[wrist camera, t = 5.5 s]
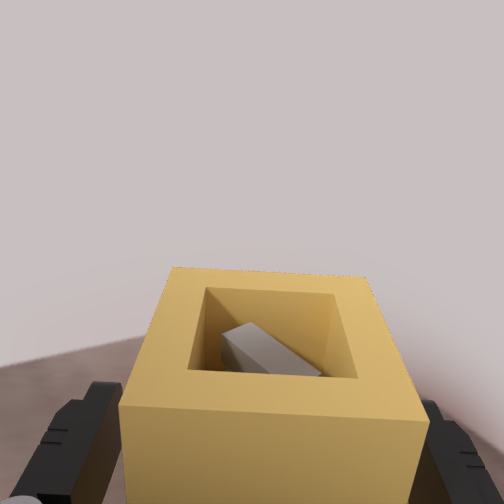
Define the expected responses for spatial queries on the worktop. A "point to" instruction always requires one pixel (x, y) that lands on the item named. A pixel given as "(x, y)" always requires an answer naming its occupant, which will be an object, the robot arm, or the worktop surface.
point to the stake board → (260, 354)
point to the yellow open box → (269, 397)
